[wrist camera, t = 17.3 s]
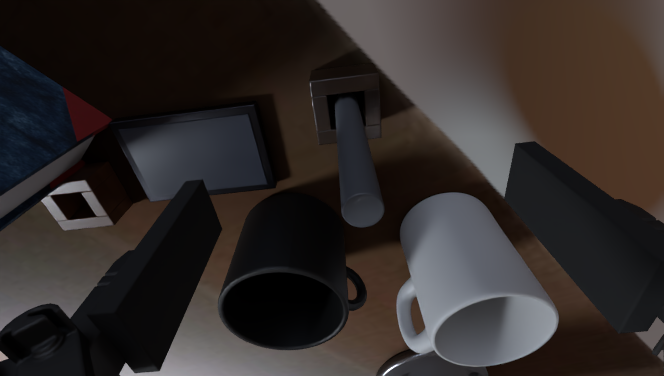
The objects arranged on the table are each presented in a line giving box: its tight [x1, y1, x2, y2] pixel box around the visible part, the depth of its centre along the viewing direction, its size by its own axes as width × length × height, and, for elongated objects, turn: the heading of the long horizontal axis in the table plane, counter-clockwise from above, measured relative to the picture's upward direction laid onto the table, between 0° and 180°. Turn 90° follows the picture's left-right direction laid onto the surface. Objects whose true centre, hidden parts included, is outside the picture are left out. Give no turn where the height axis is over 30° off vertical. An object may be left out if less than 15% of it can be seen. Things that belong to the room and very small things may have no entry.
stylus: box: [335, 92, 385, 227], centre depth 18 cm, size 2×2×14 cm
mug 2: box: [397, 192, 559, 367], centre depth 27 cm, size 12×8×11 cm
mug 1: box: [218, 193, 367, 350], centre depth 27 cm, size 9×12×9 cm
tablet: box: [109, 101, 277, 202], centre depth 25 cm, size 7×11×1 cm, turn 97°
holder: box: [309, 63, 381, 145], centre depth 22 cm, size 4×4×3 cm
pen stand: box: [41, 161, 133, 231], centre depth 26 cm, size 4×4×3 cm
